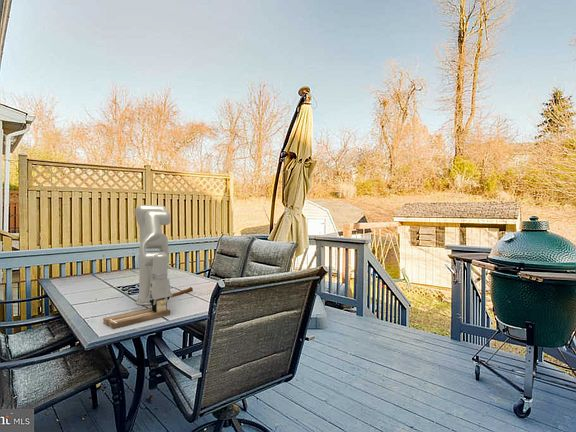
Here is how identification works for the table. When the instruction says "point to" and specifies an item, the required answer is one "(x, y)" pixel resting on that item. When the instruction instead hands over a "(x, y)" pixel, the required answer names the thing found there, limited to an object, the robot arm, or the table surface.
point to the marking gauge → (160, 305)
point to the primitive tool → (182, 292)
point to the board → (133, 317)
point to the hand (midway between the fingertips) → (159, 310)
